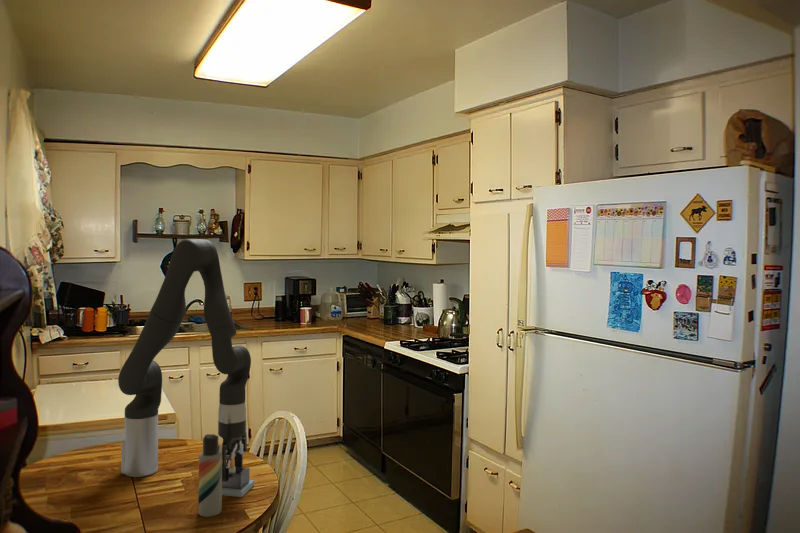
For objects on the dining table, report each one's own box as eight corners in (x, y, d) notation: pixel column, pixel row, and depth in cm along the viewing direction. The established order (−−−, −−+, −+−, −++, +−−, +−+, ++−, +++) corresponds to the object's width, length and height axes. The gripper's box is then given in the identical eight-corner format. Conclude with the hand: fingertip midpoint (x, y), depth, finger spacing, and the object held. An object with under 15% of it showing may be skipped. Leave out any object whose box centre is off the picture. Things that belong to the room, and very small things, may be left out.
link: (213, 486, 164) (213, 472, 164) (223, 479, 170) (223, 465, 170) (240, 489, 163) (240, 475, 163) (249, 481, 168) (249, 467, 168)
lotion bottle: (201, 507, 155) (202, 431, 154) (223, 507, 155) (224, 431, 154) (195, 517, 149) (196, 439, 148) (218, 517, 149) (219, 438, 149)
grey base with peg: (208, 493, 163) (208, 465, 163) (221, 482, 171) (221, 455, 171) (241, 497, 161) (242, 468, 161) (254, 485, 169) (254, 457, 169)
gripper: (231, 410, 173) (230, 464, 174) (207, 424, 159) (206, 483, 160) (255, 412, 172) (254, 467, 172) (233, 426, 158) (232, 486, 158)
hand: (231, 475), depth 166 cm, fingers open, 8 cm apart
